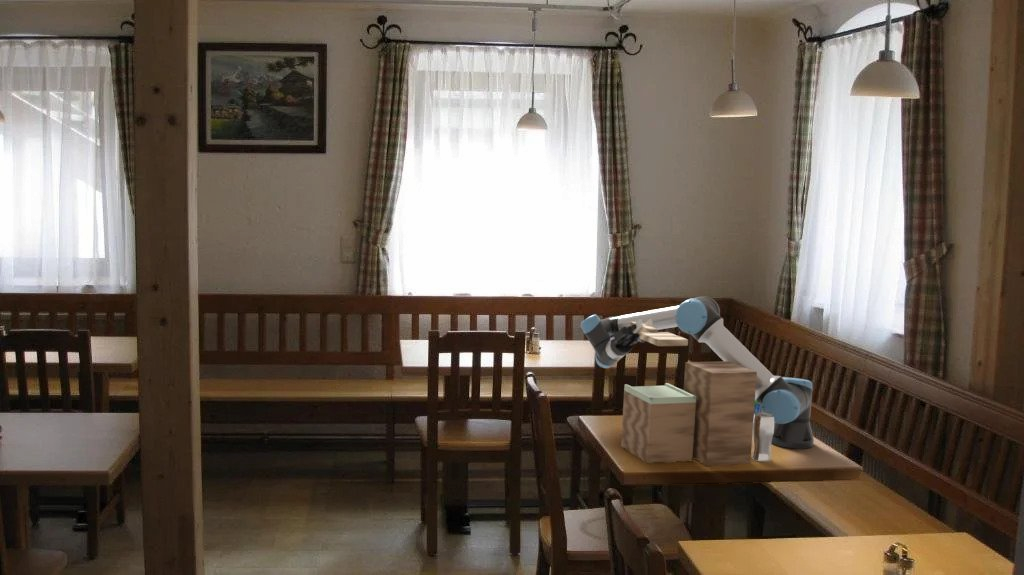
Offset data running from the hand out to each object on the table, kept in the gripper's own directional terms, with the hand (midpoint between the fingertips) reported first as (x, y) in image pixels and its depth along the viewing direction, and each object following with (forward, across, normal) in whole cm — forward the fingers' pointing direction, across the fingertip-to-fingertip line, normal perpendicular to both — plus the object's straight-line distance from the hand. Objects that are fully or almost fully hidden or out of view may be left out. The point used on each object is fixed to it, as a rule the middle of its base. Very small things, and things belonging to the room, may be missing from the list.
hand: (646, 322), depth 343 cm
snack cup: (-36, -54, -27) cm, 70 cm away
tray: (+1, 0, -26) cm, 26 cm away
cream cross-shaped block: (+2, 0, -6) cm, 7 cm away
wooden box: (-9, 0, -43) cm, 44 cm away
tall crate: (-3, -18, -46) cm, 49 cm away
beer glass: (+2, -32, -49) cm, 58 cm away
